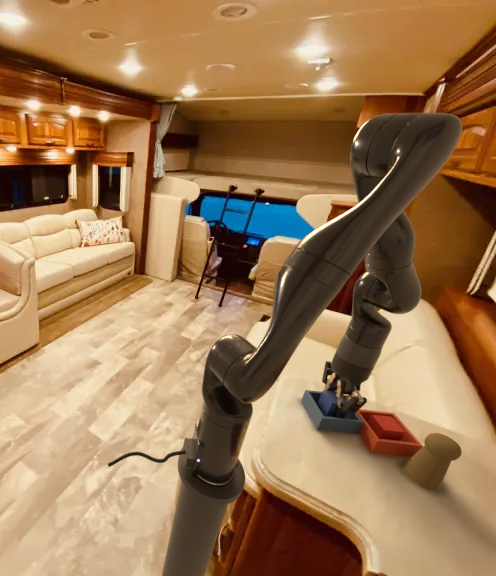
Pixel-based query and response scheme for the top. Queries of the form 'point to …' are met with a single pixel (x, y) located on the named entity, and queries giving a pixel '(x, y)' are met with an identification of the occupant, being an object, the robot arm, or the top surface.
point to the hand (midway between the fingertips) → (331, 409)
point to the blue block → (329, 402)
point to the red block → (386, 427)
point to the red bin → (382, 446)
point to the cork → (432, 461)
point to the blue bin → (324, 423)
